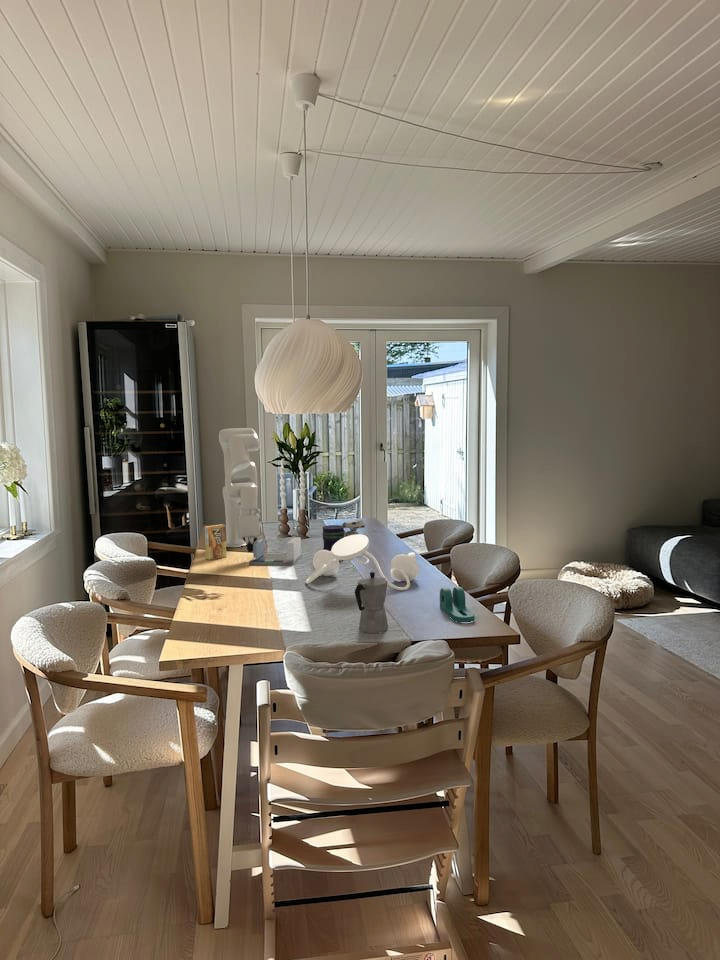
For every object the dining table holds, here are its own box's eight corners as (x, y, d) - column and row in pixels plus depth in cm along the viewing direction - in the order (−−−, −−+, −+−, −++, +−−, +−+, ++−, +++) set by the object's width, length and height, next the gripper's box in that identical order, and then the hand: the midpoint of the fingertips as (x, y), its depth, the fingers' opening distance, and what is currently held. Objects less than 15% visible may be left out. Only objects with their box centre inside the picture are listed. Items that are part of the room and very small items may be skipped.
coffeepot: (373, 620, 220) (372, 565, 218) (397, 625, 214) (396, 569, 212) (344, 634, 208) (342, 576, 206) (369, 639, 202) (368, 580, 200)
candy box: (222, 555, 323) (221, 524, 322) (227, 557, 320) (225, 525, 318) (205, 558, 318) (204, 526, 316) (209, 560, 314) (208, 527, 313)
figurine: (368, 552, 323) (367, 521, 321) (344, 554, 321) (344, 522, 319) (364, 548, 332) (363, 518, 330) (341, 550, 330) (340, 519, 328)
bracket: (439, 608, 232) (439, 586, 231) (458, 607, 233) (458, 584, 232) (457, 625, 214) (457, 600, 213) (477, 623, 216) (477, 599, 215)
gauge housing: (260, 556, 320) (259, 536, 319) (302, 556, 318) (301, 536, 317) (249, 565, 303) (248, 544, 302) (293, 565, 300) (292, 544, 299)
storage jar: (333, 562, 304) (332, 529, 302) (318, 559, 310) (317, 527, 309) (349, 558, 311) (348, 526, 309) (334, 556, 317) (333, 524, 316)
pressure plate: (261, 553, 317) (260, 539, 316) (264, 553, 317) (263, 539, 316) (251, 560, 303) (251, 545, 302) (255, 560, 303) (254, 545, 302)
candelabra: (399, 559, 241) (425, 520, 274) (284, 553, 257) (322, 517, 290) (404, 610, 247) (428, 566, 280) (291, 602, 262) (327, 561, 296)
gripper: (267, 510, 312) (268, 550, 314) (236, 510, 314) (237, 549, 316) (262, 513, 305) (264, 553, 307) (230, 513, 307) (232, 553, 309)
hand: (250, 551), depth 311 cm, fingers closed
